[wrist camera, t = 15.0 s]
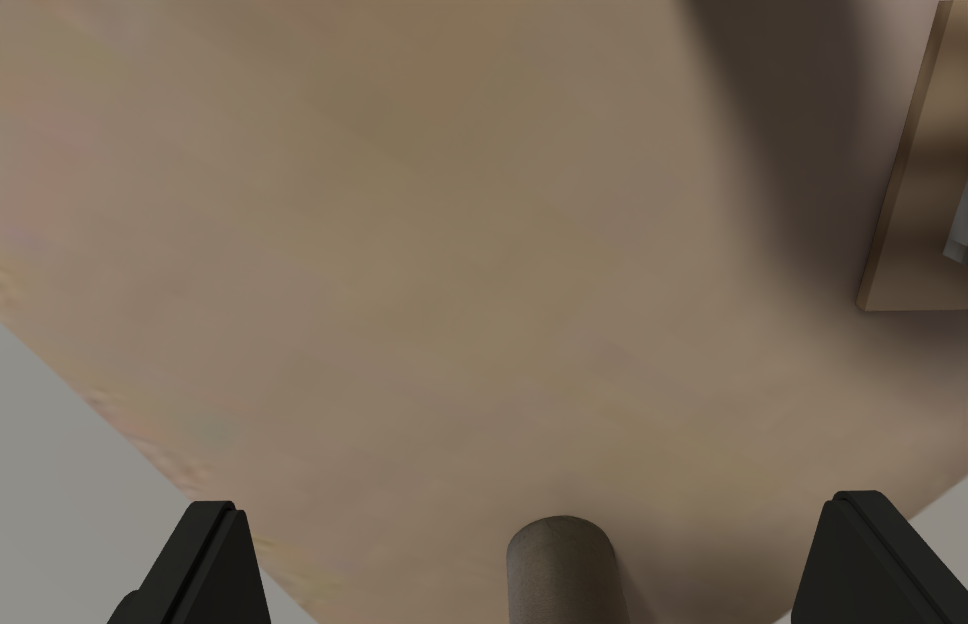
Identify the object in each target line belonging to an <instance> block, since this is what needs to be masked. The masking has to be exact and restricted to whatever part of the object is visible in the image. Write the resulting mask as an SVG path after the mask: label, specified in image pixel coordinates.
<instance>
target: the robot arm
mask: <svg viewBox="0 0 968 624" xmlns="http://www.w3.org/2000/svg"><path fill="white" fill-rule="evenodd" d="M107 624H271V620H270V615H269V611H268V607H267V602H266V598H265V594H264V589H263V585H262V581H261V577H260V572H259V568H258V564H257V559H256V555H255V551H254V546H253V542H252V538H251V533H250V529H249V525H248V521H247V516H246V513H245V512H244V510H236V508H235V505H234V503H233V502H232V501H194V502H193V503H191V504H190V505H189V507H188V508H187V509H186V511H185V513H184V515H183V516H182V518H181V520H180V521H179V523H178V525H177V526H176V528H175V530H174V531H173V533H172V535H171V536H170V538H169V540H168V541H167V543H166V545H165V546H164V548H163V550H162V551H161V553H160V555H159V557H158V558H157V560H156V561H155V563H154V565H153V566H152V568H151V570H150V572H149V573H148V575H147V576H146V578H145V580H144V581H143V583H142V585H141V587H140V588H139V590H135V591H132V592H130V593H129V594H128V595H126V596H125V597H124V599H123V600H122V601H121V602H120V604H119V605H118V606H117V608H116V609H115V611H114V613H113V614H112V616H111V617H110V619H109V621H108V622H107ZM791 624H968V591H967V590H966V588H965V587H964V586H963V585H962V584H961V583H960V581H959V580H958V579H957V578H956V577H955V576H954V575H953V573H952V572H951V571H950V570H949V569H948V568H947V566H946V565H945V564H944V563H943V562H942V561H941V560H940V558H939V557H938V556H937V555H936V554H935V553H934V552H933V550H932V549H931V548H930V547H929V546H928V545H927V543H926V542H925V541H924V540H923V539H922V538H921V537H920V535H919V534H918V533H917V532H916V531H915V530H914V529H913V527H912V526H911V525H910V524H909V523H908V522H907V520H906V519H905V518H904V517H903V516H902V515H901V514H900V512H899V511H898V510H897V509H896V508H895V507H894V505H893V504H892V503H891V502H890V501H889V500H888V499H887V497H885V496H884V495H883V494H882V493H881V492H878V491H876V490H870V491H838V492H837V493H836V494H835V495H834V497H833V499H832V500H830V501H827V502H825V504H824V506H823V509H822V512H821V515H820V519H819V522H818V525H817V529H816V532H815V535H814V539H813V542H812V545H811V549H810V552H809V555H808V559H807V562H806V566H805V569H804V572H803V576H802V579H801V582H800V586H799V589H798V592H797V596H796V599H795V602H794V606H793V609H792V612H791Z"/></svg>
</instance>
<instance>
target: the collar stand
mask: <svg viewBox="0 0 968 624" xmlns="http://www.w3.org/2000/svg"><path fill="white" fill-rule="evenodd" d="M855 304H856V305H857V306H858V307H860V308H861V309H862V310H864V311H914V310H968V0H951V1H939V4H938V8H937V11H936V15H935V18H934V22H933V26H932V29H931V33H930V36H929V40H928V44H927V47H926V51H925V54H924V58H923V62H922V65H921V69H920V73H919V76H918V80H917V83H916V87H915V91H914V94H913V98H912V101H911V105H910V109H909V112H908V116H907V119H906V123H905V127H904V130H903V134H902V137H901V141H900V145H899V148H898V152H897V155H896V159H895V163H894V166H893V170H892V173H891V177H890V181H889V184H888V188H887V192H886V195H885V199H884V202H883V206H882V210H881V213H880V217H879V220H878V224H877V228H876V231H875V235H874V238H873V242H872V246H871V249H870V253H869V256H868V260H867V264H866V267H865V271H864V274H863V278H862V282H861V285H860V289H859V292H858V296H857V300H856V303H855Z"/></svg>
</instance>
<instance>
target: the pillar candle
mask: <svg viewBox="0 0 968 624" xmlns="http://www.w3.org/2000/svg"><path fill="white" fill-rule="evenodd" d="M507 577H508V600H509V622H510V624H630V621H629V616H628V612H627V607H626V602H625V598H624V595H623V591H622V588H621V583H620V578H619V574H618V570H617V566H616V562H615V557H614V552H613V549H612V546H611V544H610V542H609V539H608V537H607V536H606V534H605V533H604V532H603V531H602V530H601V529H600V528H599V527H596V525H594V524H593V523H591V522H588V521H586V520H582V519H578V518H575V517H570V516H553V517H549V518H544V519H541V520H538V521H535V522H533V523H531V524H529V525H527V526H525V527H524V528H523V529H522V530H520V531H519V532H518V533H517V534H516V535H515V536H514V537H513V539H512V540H511V542H510V544H509V546H508V550H507Z"/></svg>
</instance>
